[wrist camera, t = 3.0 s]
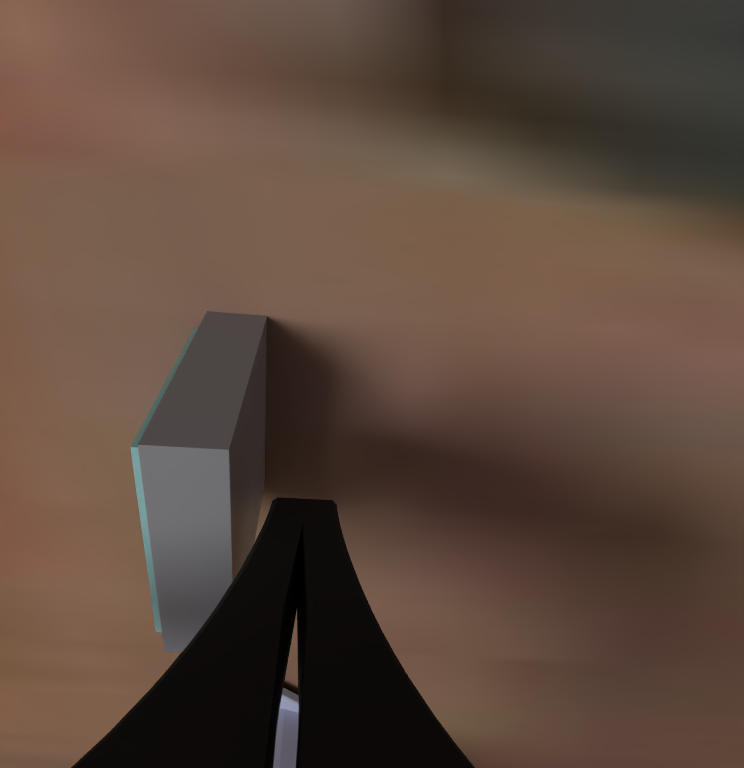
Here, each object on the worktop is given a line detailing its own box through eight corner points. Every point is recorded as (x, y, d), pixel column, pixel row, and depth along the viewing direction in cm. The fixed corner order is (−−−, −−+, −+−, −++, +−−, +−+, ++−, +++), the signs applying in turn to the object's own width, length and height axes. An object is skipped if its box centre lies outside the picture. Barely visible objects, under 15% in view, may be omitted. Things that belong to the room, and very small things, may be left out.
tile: (267, 315, 15) (228, 450, 10) (264, 484, 18) (234, 653, 13) (197, 310, 15) (123, 444, 10) (207, 481, 18) (153, 651, 13)
